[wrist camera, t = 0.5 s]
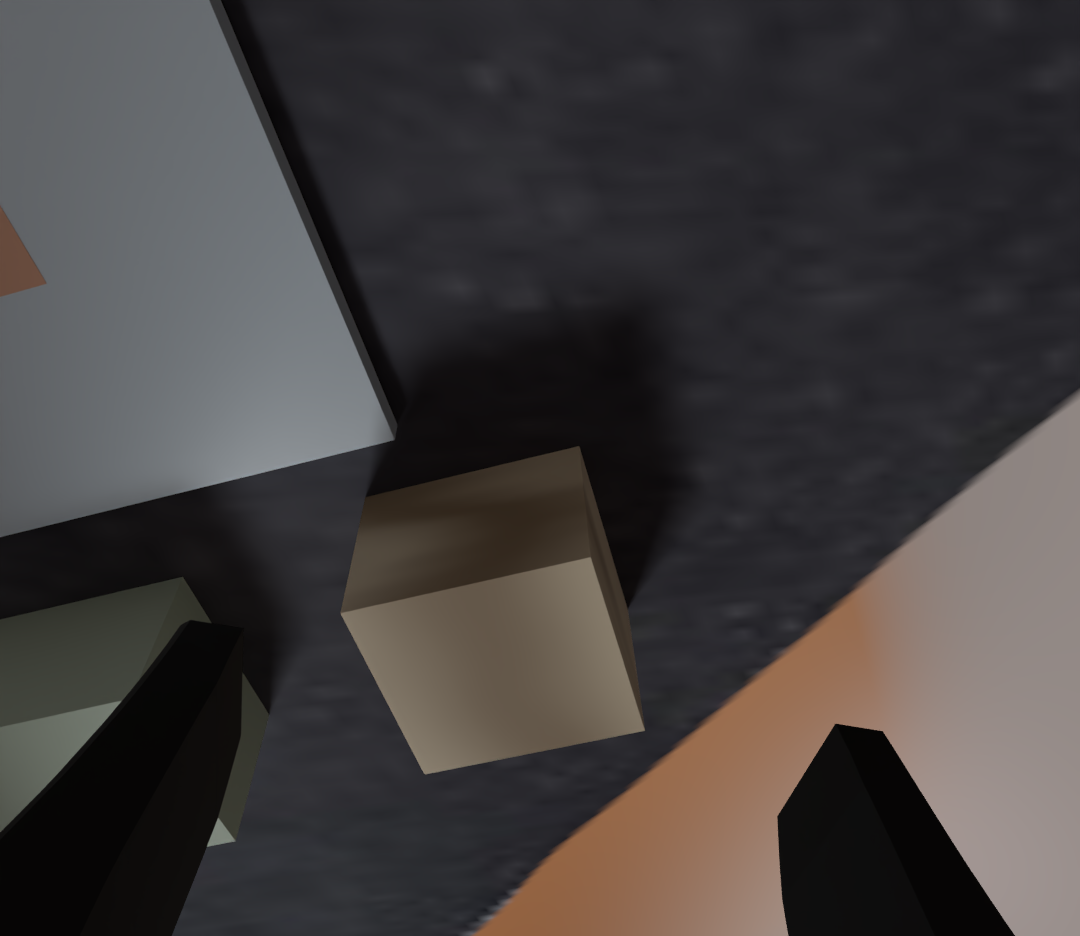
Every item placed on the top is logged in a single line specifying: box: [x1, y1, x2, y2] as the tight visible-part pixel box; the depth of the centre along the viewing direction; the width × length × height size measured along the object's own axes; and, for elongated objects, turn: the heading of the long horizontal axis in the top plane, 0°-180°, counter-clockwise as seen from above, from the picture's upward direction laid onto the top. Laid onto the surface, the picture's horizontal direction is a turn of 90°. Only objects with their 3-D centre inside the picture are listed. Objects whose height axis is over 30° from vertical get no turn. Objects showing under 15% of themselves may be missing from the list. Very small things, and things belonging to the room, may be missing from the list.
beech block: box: [341, 446, 645, 774], centre depth 22 cm, size 5×5×4 cm
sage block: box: [0, 577, 269, 847], centre depth 24 cm, size 5×5×4 cm
